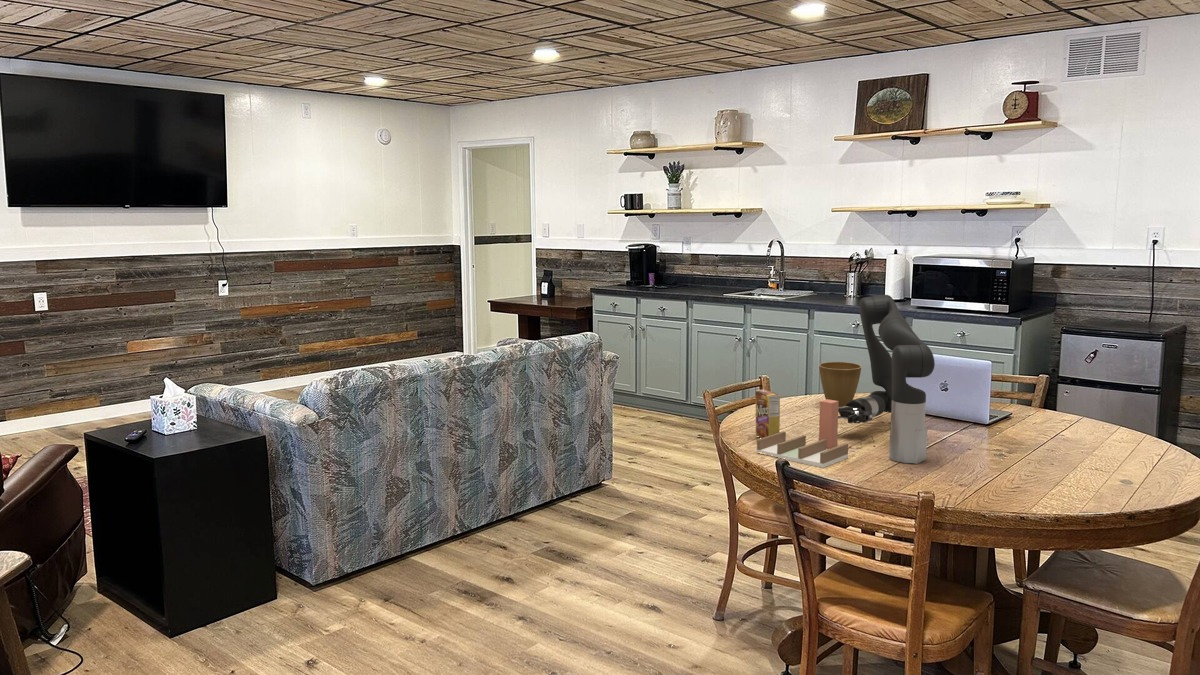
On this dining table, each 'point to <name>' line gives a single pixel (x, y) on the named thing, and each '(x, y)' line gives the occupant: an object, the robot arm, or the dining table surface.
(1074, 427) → the dining table surface
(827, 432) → the slim block
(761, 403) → the candy box
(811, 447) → the comb rack
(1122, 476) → the dining table surface
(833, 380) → the plant pot
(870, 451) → the dining table surface
